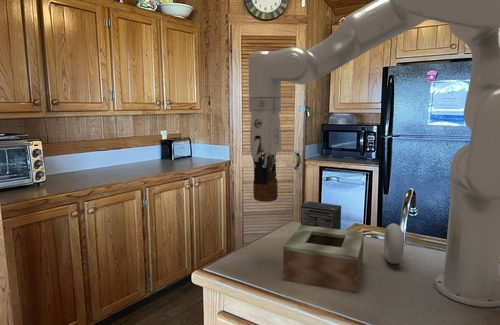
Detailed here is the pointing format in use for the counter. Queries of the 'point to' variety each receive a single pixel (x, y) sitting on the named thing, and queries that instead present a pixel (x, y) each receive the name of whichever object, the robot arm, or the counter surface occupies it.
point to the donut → (393, 243)
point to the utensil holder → (267, 188)
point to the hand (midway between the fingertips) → (265, 180)
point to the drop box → (324, 257)
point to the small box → (321, 215)
